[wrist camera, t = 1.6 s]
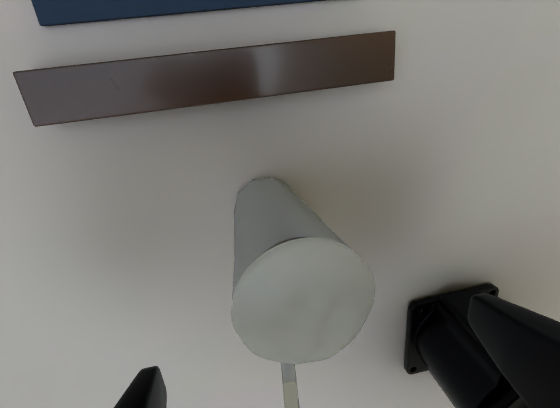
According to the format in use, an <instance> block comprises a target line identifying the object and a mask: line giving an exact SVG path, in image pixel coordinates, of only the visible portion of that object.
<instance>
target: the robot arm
mask: <svg viewBox="0 0 560 408" xmlns="http://www.w3.org/2000/svg"><path fill="white" fill-rule="evenodd" d="M498 292H499V289H498V288H497V287H496V286H495V285H493V284H485V285H480V286H476V287H472V288H467V289H463V290H459V291H454V292H450V293H446V294H441V295H437V296H433V297H428V298H424V299H420V300H415V301H413V302H411V303H410V304H409V306H408V315H407V330H406V345H405V360H404V368H405V370H406V371H407V373H408V374H415V373H419V372H423V371H427V370H429V372H430V373H431V374H432V376H433V377H434V379H435V380H436V381H437V383H438V384H439V386H440V387H441V388H442V390H443V391H444V393H445V394H446V395H447V397H448V398H449V399H450V401H451V402H452V404H453V405H454V406H455V408H560V322H558V321H556V320H553V319H551V318H548V317H546V316H543V315H541V314H538V313H536V312H533V311H530V310H528V309H525V308H523V307H520V306H518V305H515V304H513V303H510V302H508V301H505V300H503V299H500V298H498ZM416 308H417V309H416ZM166 402H167V394H166V387H165V384H164V381H163V378H162V375H161V372H160V369H159V368H158V366H153V367H148V368H144V369H142V370H141V371H140V372H139V373H138V374H137V376H136V377H135V378H134V380H133V381H132V383H131V384H130V386H129V387H128V388H127V390H126V391H125V393H124V394H123V395H122V397H121V398H120V400H119V401H118V403H117V404H116V405H115V407H114V408H166Z"/></svg>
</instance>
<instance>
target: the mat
mask: <svg viewBox="0 0 560 408" xmlns="http://www.w3.org/2000/svg"><path fill="white" fill-rule="evenodd" d="M31 1H32V4H33V7H34V9H35V12H36V15H37V18H38V21H39V24H40V26H53V25H64V24H74V23H85V22H96V21H107V20H118V19H129V18H139V17H150V16H161V15H172V14H183V13H194V12H205V11H215V10H226V9H237V8H248V7H259V6H270V5H280V4H291V3H302V2H313V1H324V0H31Z"/></svg>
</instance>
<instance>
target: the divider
mask: <svg viewBox="0 0 560 408" xmlns="http://www.w3.org/2000/svg"><path fill="white" fill-rule="evenodd" d="M394 62H395V31H385V32H376V33H366V34H357V35H348V36H339V37H329V38H320V39H311V40H302V41H293V42H283V43H274V44H265V45H256V46H246V47H237V48H228V49H219V50H209V51H200V52H191V53H182V54H173V55H163V56H154V57H145V58H136V59H126V60H117V61H108V62H99V63H90V64H80V65H71V66H62V67H53V68H43V69H34V70H25V71H16V72H13V75H14V77H15V80H16V82H17V85H18V87H19V90H20V92H21V95H22V97H23V100H24V102H25V105H26V107H27V110H28V112H29V115H30V117H31V120H32V122H33V125H34V126H35V127H38V126H45V125H53V124H61V123H68V122H76V121H84V120H91V119H99V118H107V117H114V116H122V115H130V114H137V113H145V112H153V111H161V110H168V109H176V108H184V107H191V106H199V105H207V104H214V103H222V102H230V101H237V100H245V99H253V98H260V97H268V96H276V95H283V94H291V93H299V92H306V91H314V90H322V89H329V88H337V87H345V86H352V85H360V84H368V83H375V82H383V81H391V80H394Z"/></svg>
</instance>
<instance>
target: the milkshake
mask: <svg viewBox="0 0 560 408" xmlns="http://www.w3.org/2000/svg"><path fill="white" fill-rule="evenodd" d="M374 296H375V284H374V279H373V276H372V274H371V272H370V270H369V268H368V267H367V265H366V264H365V263H364V261H363V260H362V259H361V258H360V257H359V256H358V255H357V254H356V253H355V252H354V251H353V250H352V249H351V248H350V247H349V246H348V245H347V244H346V243H345V242H344V241H343V240H342V239H341V238H340V237H339V236H338V235H337V234H335V233H334V232H333V231H332V230H331V229H330V228H329V227H328V226H327V225H326V224H325V223H324V222H323V221H322V220H321V219H320V218H319V217H318V216H317V214H316V213H315V212H314V211H313V210H312V209H311V208H310V207H309V206H308V205H307V204H306V203H305V202H304V201H303V200H302V199H301V198H300V197H299V196H298V195H297V193H296V192H295V191H294V190H293V189H292V188H291V187H290V186H288V185H286V184H285V183H283V182H281V181H279V180H277V179H276V178H274V177H268V178H260V179H253V180H252V181H251V182H249V183H248V184H247V185H246V186H245V187H244V188H243V189H241V190H240V191H239V192H238V195H237V200H236V204H235V209H234V271H233V290H232V306H231V318H232V323H233V326H234V328H235V330H236V332H237V334H238V335H239V337H240V338H241V340H242V341H243V343H244V344H245V345H246V346H247V348H248V349H249V350H250V351H252V352H253V353H254V354H256V355H258V356H260V357H262V358H265V359H268V360H272V361H276V362H281V368H282V380H283V392H284V404H285V408H299V400H298V391H297V382H296V372H295V364H300V363H307V362H313V361H320V360H325V359H327V358H330V357H331V356H333V355H335V354H336V353H338V352H339V351H340V350H342V349H343V348H344V347H346V346H347V345H348V344H349V343H350V342H351V341H352V340H353V339H354V338H355V336H356V335H357V334H358V332H359V331H360V330H361V328H362V326H363V324H364V322H365V320H366V318H367V316H368V314H369V312H370V310H371V307H372V305H373V301H374Z"/></svg>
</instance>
